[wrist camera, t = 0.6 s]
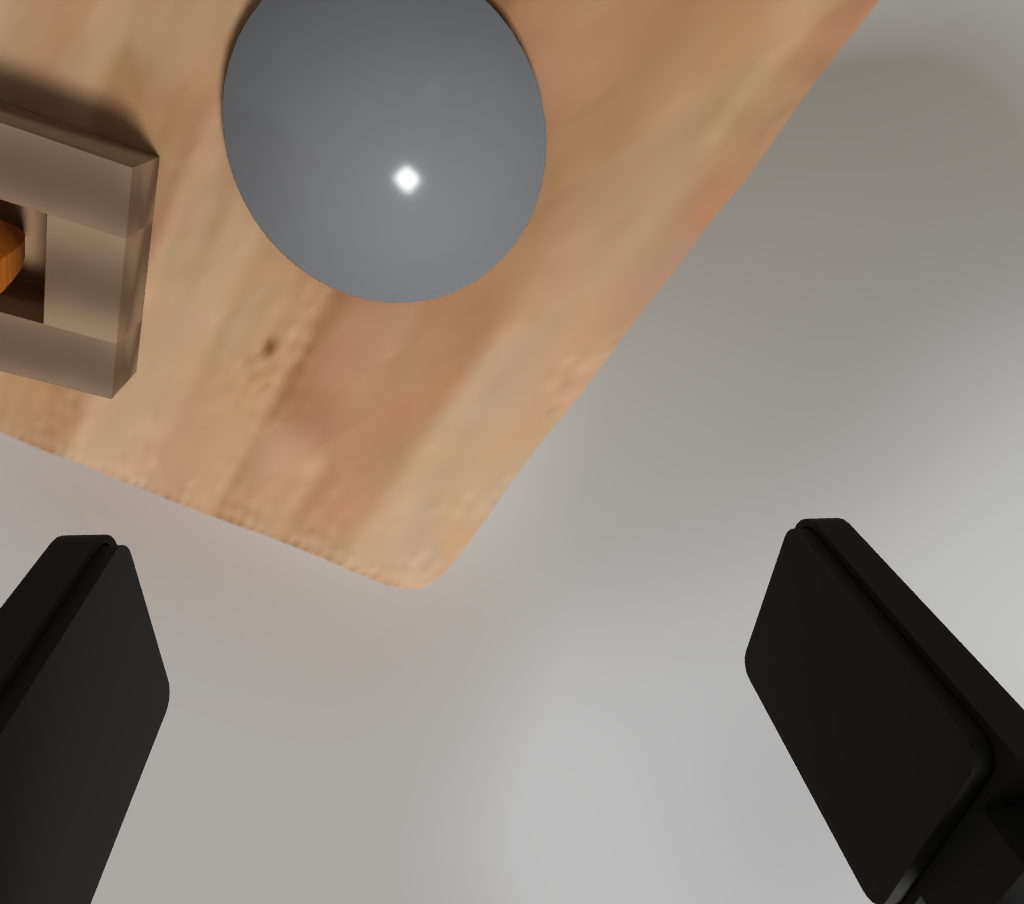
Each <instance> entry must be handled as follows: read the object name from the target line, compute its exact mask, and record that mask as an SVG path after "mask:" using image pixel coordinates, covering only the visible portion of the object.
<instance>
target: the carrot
mask: <svg viewBox="0 0 1024 904" xmlns="http://www.w3.org/2000/svg"><path fill="white" fill-rule="evenodd" d="M24 258H25V234H24V233H23V232H22V231H21V230H20V229H19V228H18V227H17V226H15V225H13V224H11V223H7V222H4V221H0V293H1V292H3V291H4V289H5V288H6V287H7V286H8V285H9V284H10V283H11V282H12V281H13V279H14V278H15V277H16V275H17V274H18V273H19V271H20V270H21V268H22V265H23V261H24Z"/></svg>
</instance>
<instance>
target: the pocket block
mask: <svg viewBox="0 0 1024 904" xmlns="http://www.w3.org/2000/svg"><path fill="white" fill-rule="evenodd" d="M158 167H159V157H158V156H155V155H153V154H150V153H147V152H144V151H141V150H138V149H136V148H133V147H130V146H127V145H124V144H121V143H118V142H116V141H113V140H110V139H107V138H104V137H101V136H99V135H96V134H93V133H90V132H87V131H84V130H81V129H79V128H76V127H73V126H70V125H67V124H64V123H62V122H59V121H56V120H53V119H50V118H47V117H44V116H42V115H39V114H36V113H33V112H30V111H27V110H25V109H22V108H19V107H16V106H13V105H10V104H7V103H5V102H2V101H0V199H1V200H4V201H7V202H10V203H14V204H17V205H20V206H23V207H26V208H29V209H33V210H36V211H39V212H42V213H45V214H47V237H46V267H45V292H43V291H39V290H36V289H32V288H29V287H25V286H22V285H18V284H15V283H10V284H9V285H8V286H7V287H6V288H5V289H4V291H3V292H1V293H0V371H3V372H7V373H11V374H14V375H18V376H22V377H26V378H30V379H34V380H38V381H42V382H46V383H50V384H54V385H58V386H62V387H66V388H70V389H74V390H78V391H82V392H86V393H90V394H94V395H98V396H102V397H105V398H109V399H112V398H113V397H114V396H115V394H116V393H117V392H118V391H119V390H120V389H121V388H122V387H123V386H124V384H125V383H126V382H127V381H128V380H129V379H130V378H131V377H132V376H133V375H134V373H135V372H136V368H137V359H138V350H139V341H140V332H141V323H142V313H143V304H144V295H145V286H146V277H147V267H148V258H149V249H150V240H151V231H152V222H153V212H154V203H155V194H156V185H157V176H158Z"/></svg>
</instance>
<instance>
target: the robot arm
mask: <svg viewBox="0 0 1024 904" xmlns="http://www.w3.org/2000/svg"><path fill="white" fill-rule="evenodd" d="M745 667H746V672H747V675H748V677H749V679H750V681H751V683H752V685H753V687H754V689H755V691H756V692H757V694H758V696H759V698H760V700H761V701H762V703H763V705H764V707H765V709H766V711H767V713H768V715H769V716H770V718H771V720H772V722H773V724H774V726H775V727H776V730H777V731H778V733H779V735H780V737H781V739H782V741H783V743H784V745H785V746H786V748H787V750H788V752H789V754H790V756H791V758H792V759H793V761H794V763H795V765H796V767H797V769H798V770H799V772H800V774H801V776H802V778H803V780H804V782H805V784H806V785H807V787H808V789H809V791H810V793H811V795H812V797H813V798H814V800H815V802H816V804H817V806H818V808H819V810H820V811H821V813H822V815H823V817H824V819H825V821H826V823H827V825H828V826H829V828H830V830H831V832H832V834H833V836H834V838H835V839H836V841H837V843H838V845H839V847H840V849H841V851H842V852H843V854H844V856H845V858H846V860H847V862H848V864H849V866H850V867H851V869H852V871H853V873H854V875H855V877H856V878H857V880H858V882H859V884H860V886H861V888H862V889H863V891H864V892H865V894H866V896H867V897H868V898H869V899H870V900H871V901H872V902H873V903H875V904H1024V710H1023V708H1022V707H1021V706H1020V705H1019V704H1018V703H1017V702H1016V701H1015V700H1014V699H1013V698H1012V697H1011V696H1010V695H1009V693H1008V692H1007V691H1006V690H1005V689H1004V688H1003V687H1002V686H1001V685H1000V684H999V683H998V682H997V681H996V680H995V679H994V677H993V676H992V675H991V674H990V673H989V672H988V671H987V670H986V669H985V668H984V667H983V666H982V665H981V664H980V663H979V662H978V661H977V659H976V658H975V657H974V656H973V655H972V654H971V653H970V652H969V651H968V650H967V649H966V648H965V647H964V646H963V644H962V643H961V642H960V641H959V640H958V639H957V638H956V637H955V636H954V635H953V634H952V633H951V632H950V631H949V630H948V629H947V627H946V626H945V625H944V624H943V623H942V622H941V621H940V620H939V619H938V618H937V617H936V616H935V615H934V614H933V612H932V611H931V610H930V609H929V608H928V607H927V606H926V605H925V604H924V603H923V602H922V601H921V600H920V599H919V598H918V597H917V595H915V593H914V592H913V591H912V590H911V589H910V588H909V587H908V586H907V585H906V584H905V583H904V582H903V581H902V580H901V578H900V577H899V576H898V575H897V574H896V573H895V572H894V571H893V570H892V569H891V568H890V567H889V566H888V565H887V563H886V562H885V561H884V560H883V559H882V558H881V557H880V556H879V555H878V554H877V553H876V552H875V551H874V550H873V548H872V547H871V546H870V545H869V544H868V543H867V542H866V541H865V540H864V539H863V538H862V537H861V536H860V535H859V534H858V533H857V531H856V530H855V529H854V528H853V527H852V526H851V525H850V524H849V523H847V522H846V521H845V520H844V519H840V518H819V519H803V520H801V521H800V522H799V523H797V525H796V527H795V529H791V530H789V531H788V532H787V534H786V536H785V538H784V541H783V544H782V547H781V550H780V553H779V556H778V559H777V562H776V564H775V568H774V570H773V573H772V576H771V579H770V582H769V585H768V588H767V591H766V594H765V597H764V600H763V603H762V606H761V609H760V612H759V615H758V618H757V621H756V624H755V626H754V630H753V632H752V635H751V638H750V641H749V644H748V647H747V650H746V654H745ZM168 702H169V682H168V678H167V675H166V671H165V668H164V665H163V661H162V658H161V654H160V651H159V648H158V644H157V641H156V637H155V634H154V631H153V627H152V624H151V620H150V617H149V613H148V610H147V607H146V603H145V600H144V596H143V593H142V590H141V586H140V583H139V579H138V576H137V572H136V569H135V565H134V562H133V559H132V555H131V553H130V550H129V549H128V547H127V546H124V545H117V544H116V542H115V540H114V539H113V538H112V537H111V536H109V535H68V536H60V537H57V538H56V539H55V540H54V541H52V543H51V544H50V545H49V546H48V548H47V549H46V550H45V551H44V553H43V554H42V555H41V557H40V558H39V559H38V560H37V562H36V563H35V564H34V566H33V567H32V568H31V570H30V571H29V572H28V573H27V575H26V576H25V577H24V578H23V580H22V581H21V582H20V584H19V585H18V586H17V588H16V589H15V590H14V591H13V593H12V594H11V595H10V597H9V598H8V599H7V600H6V602H5V603H4V604H3V606H2V607H1V608H0V904H91V901H92V898H93V896H94V893H95V891H96V888H97V886H98V883H99V881H100V878H101V876H102V873H103V870H104V868H105V866H106V863H107V860H108V858H109V855H110V853H111V850H112V848H113V845H114V843H115V840H116V838H117V835H118V832H119V830H120V827H121V825H122V822H123V820H124V817H125V815H126V812H127V810H128V807H129V805H130V802H131V799H132V797H133V794H134V792H135V789H136V787H137V784H138V782H139V779H140V776H141V774H142V772H143V769H144V766H145V764H146V761H147V759H148V756H149V754H150V751H151V749H152V746H153V743H154V741H155V738H156V736H157V733H158V731H159V728H160V726H161V723H162V721H163V718H164V716H165V713H166V710H167V707H168Z"/></svg>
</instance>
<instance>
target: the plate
mask: <svg viewBox="0 0 1024 904" xmlns="http://www.w3.org/2000/svg"><path fill="white" fill-rule="evenodd" d="M222 116H223V134H224V140H225V146H226V151H227V157H228V160H229V164H230V167H231V170H232V174H233V177H234V180H235V182H236V184H237V187H238V189H239V191H240V194H241V196H242V199H243V201H244V202H245V204H246V206H247V208H248V209H249V211H250V213H251V215H252V216H253V218H254V220H255V221H256V223H257V224H258V225H259V227H260V228H261V229H262V231H263V232H264V234H265V235H266V236H267V238H268V239H269V240H270V241H271V242H272V243H273V244H274V245H275V246H276V247H277V248H278V250H279V251H280V252H281V253H282V254H283V255H284V256H286V257H287V258H288V259H289V260H290V261H291V262H293V263H294V264H295V265H296V266H297V267H298V268H300V269H301V270H303V271H304V272H306V273H307V274H309V275H310V276H311V277H313V278H314V279H316V280H318V281H320V282H322V283H324V284H326V285H327V286H329V287H331V288H333V289H336V290H338V291H341V292H343V293H346V294H349V295H351V296H355V297H359V298H363V299H367V300H372V301H380V302H387V303H409V302H417V301H425V300H429V299H433V298H437V297H441V296H444V295H447V294H449V293H452V292H454V291H457V290H459V289H461V288H463V287H465V286H467V285H468V284H470V283H472V282H474V281H476V280H477V279H478V278H480V277H481V276H482V275H484V274H485V273H486V272H488V271H489V270H490V269H492V268H493V267H494V266H495V265H496V264H497V263H498V262H499V261H500V260H501V259H502V258H503V257H504V256H505V255H506V253H507V252H508V251H509V250H510V248H511V247H512V246H513V245H514V243H515V242H516V241H517V239H518V238H519V236H520V234H521V233H522V231H523V229H524V228H525V226H526V225H527V222H528V220H529V218H530V216H531V214H532V211H533V209H534V207H535V204H536V201H537V198H538V194H539V191H540V188H541V184H542V178H543V173H544V167H545V156H546V129H545V118H544V112H543V106H542V100H541V96H540V93H539V89H538V86H537V83H536V79H535V76H534V73H533V71H532V69H531V67H530V64H529V62H528V60H527V57H526V55H525V53H524V51H523V49H522V48H521V46H520V44H519V43H518V41H517V39H516V37H515V36H514V34H513V32H512V31H511V30H510V28H509V27H508V26H507V24H506V23H505V22H504V21H503V19H502V18H501V17H500V15H499V14H498V13H497V12H496V11H495V10H494V9H493V8H492V7H491V6H490V5H489V4H488V3H487V2H486V1H485V0H262V1H261V3H260V4H259V5H258V7H257V8H256V9H255V11H254V12H253V13H252V15H251V16H250V17H249V19H248V20H247V22H246V24H245V26H244V28H243V30H242V31H241V33H240V35H239V37H238V39H237V41H236V44H235V47H234V50H233V52H232V55H231V58H230V61H229V64H228V69H227V74H226V78H225V83H224V92H223V105H222Z"/></svg>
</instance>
